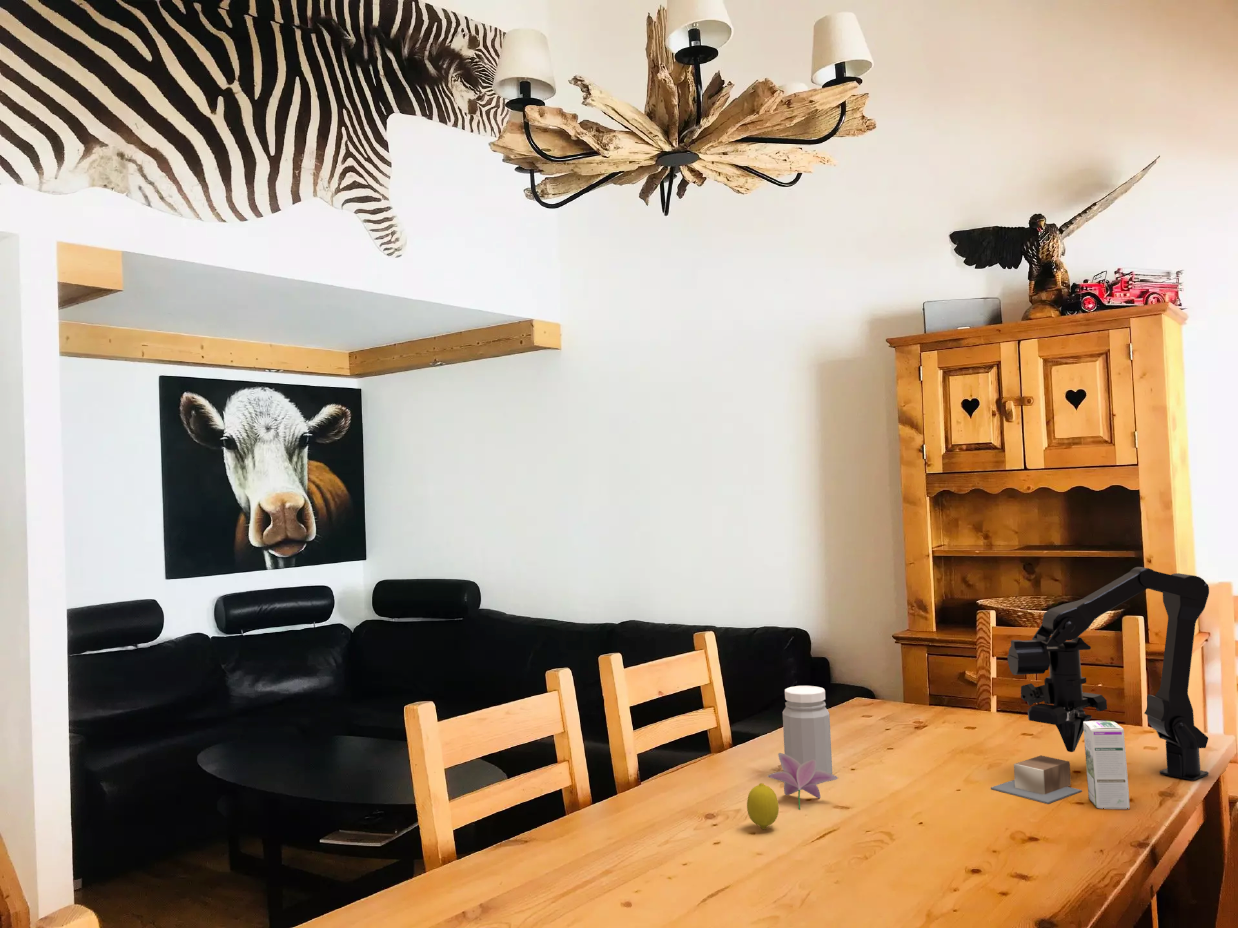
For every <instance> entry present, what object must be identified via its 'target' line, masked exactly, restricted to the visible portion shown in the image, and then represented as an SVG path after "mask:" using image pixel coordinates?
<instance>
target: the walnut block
mask: <svg viewBox="0 0 1238 928" xmlns="http://www.w3.org/2000/svg"><path fill="white" fill-rule="evenodd" d="M1070 762H1071V761H1070V760H1069V761H1068V760H1064V759H1059V758H1055V757H1049V756H1046V755H1039V756H1038V755H1037V756H1034V757H1032V758H1028V759H1025V760H1022V761H1019V762H1016V763H1013V772H1014V776H1013V777H1014V780H1015V788H1019V789H1023V790H1027V791H1031V792H1035V793H1039V794H1043V795H1044V794H1047V793H1050V792H1053V791H1056V790H1058V789H1061V788H1064V787H1071V785H1072V781H1071V779H1072V778H1071V765H1070V764H1071V763H1070Z"/></svg>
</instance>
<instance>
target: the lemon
mask: <svg viewBox="0 0 1238 928" xmlns="http://www.w3.org/2000/svg"><path fill="white" fill-rule="evenodd" d="M779 809H780V806H779V800H778V797H777V793H776V792H775V790H774V789H772V787H770V786H769V785H766V784H764V783H763V782H760V783H759V784H757V785H756V786H753V787H752V788H751V790H749V792H748V795H747V801H746V810H747V814H748V817H749V818H750V820H751V822H752V823H754V824H755V825H756V826H759V827H760V829H761V830H766V829H767V828H768V826H769V827H770V826H771V825H772V824H773V823H774V822H776V820H777V818H778V815H779V811H780V810H779Z"/></svg>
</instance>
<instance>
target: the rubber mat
mask: <svg viewBox="0 0 1238 928" xmlns="http://www.w3.org/2000/svg"><path fill="white" fill-rule="evenodd" d="M990 789H991V790H993V791H996V792H997V791H998V792H1001V793H1005V794H1008V795H1013V796H1016V797H1020V798H1024V799H1028V800H1032V801H1036V802H1039V803H1043V804H1047V805H1049V804H1052V803H1054V802H1057V801H1060V800H1062V799H1065V798H1069V797H1071V796H1073V795H1076V794H1079V793H1082V792H1083V790H1082V789H1079V788H1075V787H1071V786H1067V787H1064V788H1061V789H1058V790H1056V791H1053V792H1050V793H1047V794H1044V795H1043V794H1039V793H1035V792H1031V791H1027V790H1023V789H1019V788H1015V779H1012V780H1010V781H1006V782H1003V783H1000V784H997V785H993V786H991V787H990Z"/></svg>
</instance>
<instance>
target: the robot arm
mask: <svg viewBox="0 0 1238 928" xmlns="http://www.w3.org/2000/svg"><path fill="white" fill-rule="evenodd" d="M1146 590H1151V591H1155V592H1159V593H1162V603H1163V605H1164V609H1165V611H1166V614H1167V626H1166V635H1165V643H1164V654H1163V662H1162V671H1161V677H1160V679H1161V680H1160V686H1159V689H1158V691H1157V692H1156V693H1155V695H1152V694H1147V695H1146V696H1147V697H1146V702H1147V703H1146V710H1145V712H1144V715H1146V716H1147V722H1148V724H1149V726H1151V728H1152V729H1153V730H1155V731H1156V734H1157V736H1158V738H1159V739H1162V740H1165V751H1166V752H1165V753H1166V754H1165V755H1166V756H1165V758H1166V768H1164V769H1161V770H1159V774H1160V775H1164V776H1169V777H1174V778H1179V779H1184V780H1187V781H1188V780H1189V781H1195V780H1198V779H1201V778H1203V777H1207V776H1208V775H1209V772H1208V771H1207V770H1206V771H1205V770H1201V761H1200V760H1201V759H1200V758H1201V757H1200V749H1206V748H1207V745H1208V742H1209V737H1208V735H1206V734H1205V733H1204V732H1202V731H1201V730H1200V729H1199V728H1198V727H1197V726H1195V721H1194V720H1195V719H1194V717H1195V715H1194V709H1193V706H1192V703H1191V700H1190V697H1189V686H1190V685H1189V684H1190V675H1191V667H1192V666H1191V665H1192V659H1193V649H1194V639H1195V632H1196V623H1197V621H1198V620H1199V618H1200V616H1201V615H1202V614H1203V612H1204V610H1205V608H1206V605H1207V602H1208V598H1209V595H1210V587H1209V584H1208V583H1207V582H1206V581H1205V580H1204V578H1201V576H1197V575H1192V574H1187V573H1171V574H1168V573H1165V572H1160V571H1157V570H1154V569H1151V568H1148V567H1142V566H1136V567H1134V568H1132V569H1130V571H1128V572H1127V573H1125V574H1123V575H1122V576H1120V577H1118V578H1116V579H1115V580H1113V581H1111V582H1110V583H1108V584H1106V585H1104V586H1102V587H1101V588H1099V589H1097V590H1095V591H1094V592H1092V593H1090V594H1088V595H1087V596H1085V597H1083V598H1082V599H1079V600H1076V601H1071V602H1067V603H1063V604H1060V605H1057V606H1054V607H1052V608H1049V609H1048V610H1046V611H1045V612H1044V613H1043V614H1042V615H1043V616H1042V623H1041V624H1040V626H1039V627H1038V629H1037V631H1036V632H1035V634H1034V635H1033V637H1032V639H1029V640H1028V639H1027V640H1026V639H1025V640H1021V639H1011V640H1010V647H1009V648H1008V654H1007V655H1006V656H1007V664H1008V667H1009V670H1010V672H1011V674H1012V675H1014V676H1017V675H1022V676H1023V675H1040V674H1042V675H1043V674H1045V672H1046V671H1049V676H1047V677H1045V679H1043V680H1044V681H1043V682H1044V684H1042V685H1039V686H1035V685H1034V684H1033V683H1027V684H1023V685H1021V686H1020V699H1022V700H1023V701H1024V702H1027V704H1028V705H1027V706H1030V707H1029V708H1028V709H1027V719H1028V720H1027V721H1030V722H1037V723H1043V724H1047V725H1054V726H1056V728H1057V730H1058V732H1059V735H1060V737H1061V739H1062V742H1063V744H1064V746H1065V749H1066V751H1067V752H1069V753H1073V752H1076V748H1077V747H1078V744H1079V741H1080V739H1081V738H1082V735H1083V734H1084V725H1083V722H1086V721H1090V720H1091V719H1092V716H1093V715H1091V714H1087V713H1086V712H1085V710H1084V709H1086V708H1095V710H1096V711H1097V712H1103V711H1106V710H1108V702H1107V699H1106V698H1105V697H1104V696H1103V695H1102V694H1097V693H1091V692H1083V684H1086V683H1087V677H1084V676H1082V665H1081V664H1082V663H1081V654H1080V653H1081V651H1090V650H1091V648H1092V647H1091V645H1089V644H1088V643H1086V642H1085V640H1083V638H1082V637H1080V636H1081V635H1082V634H1083V633H1084V632H1086V631H1087V630H1088V629H1089V628H1090V627H1091V625H1092V624H1093V623H1094V621H1095V620H1096V619H1098V618H1099V617H1100V616H1103V615H1105V614H1106V613H1108V612H1110V611H1111V610H1113V609H1115V608H1116V607H1118V606H1120V605H1121V604H1123V603H1125V602H1127V601H1129V600H1130V599H1132V598H1134V597H1136V596H1137V595H1139V594H1141V593H1143V592H1144V591H1146Z"/></svg>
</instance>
